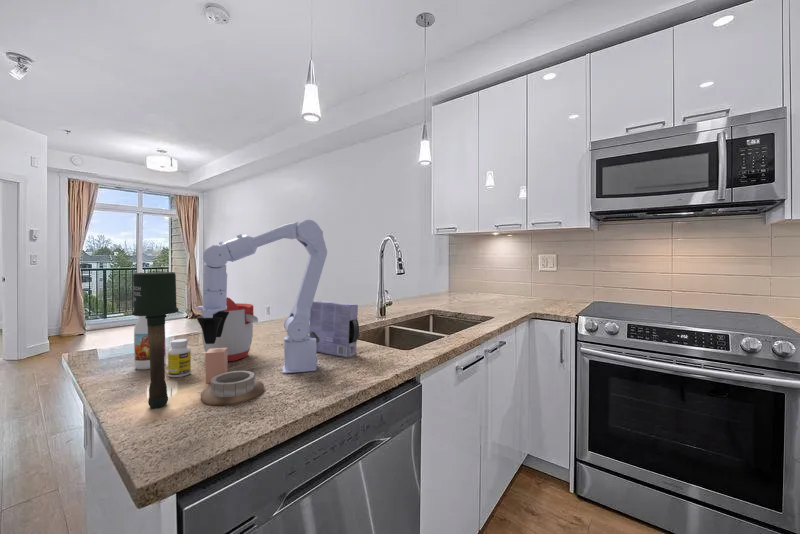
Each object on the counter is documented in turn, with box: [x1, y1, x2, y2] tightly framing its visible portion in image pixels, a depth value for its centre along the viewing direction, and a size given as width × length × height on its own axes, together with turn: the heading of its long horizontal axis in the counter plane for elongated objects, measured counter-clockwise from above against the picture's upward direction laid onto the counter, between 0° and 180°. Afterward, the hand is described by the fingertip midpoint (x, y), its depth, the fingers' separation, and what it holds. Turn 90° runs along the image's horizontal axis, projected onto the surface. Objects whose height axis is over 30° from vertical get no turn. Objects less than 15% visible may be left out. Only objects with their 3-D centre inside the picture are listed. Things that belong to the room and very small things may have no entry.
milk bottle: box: [133, 316, 167, 371], centre depth 107 cm, size 8×8×20 cm
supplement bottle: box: [167, 338, 192, 378], centre depth 100 cm, size 5×5×10 cm
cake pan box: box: [308, 299, 360, 359], centre depth 122 cm, size 19×5×18 cm, turn 60°
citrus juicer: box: [199, 297, 259, 362], centre depth 116 cm, size 16×17×20 cm
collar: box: [200, 370, 265, 406], centre depth 87 cm, size 14×14×4 cm
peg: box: [204, 348, 229, 384], centre depth 96 cm, size 4×4×8 cm
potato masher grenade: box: [131, 271, 180, 409], centre depth 79 cm, size 8×9×30 cm
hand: (213, 340), depth 96 cm, fingers open, 7 cm apart
